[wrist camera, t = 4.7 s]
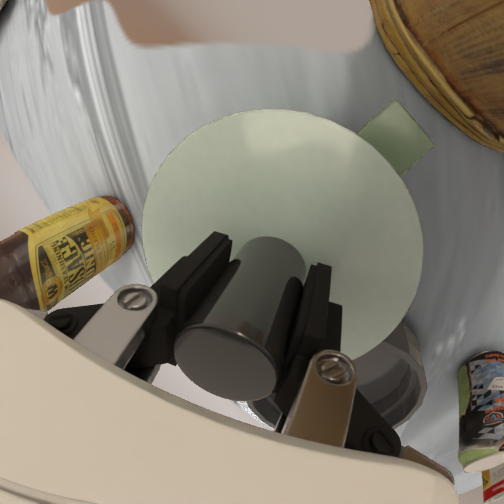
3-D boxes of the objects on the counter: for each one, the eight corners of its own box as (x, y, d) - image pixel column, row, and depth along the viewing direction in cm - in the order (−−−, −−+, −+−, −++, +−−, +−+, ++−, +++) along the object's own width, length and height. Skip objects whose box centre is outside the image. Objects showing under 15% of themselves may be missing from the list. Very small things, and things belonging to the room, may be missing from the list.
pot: (437, 187, 16) (494, 233, 9) (274, 318, 25) (246, 395, 17) (318, 60, 15) (304, 15, 8) (173, 226, 23) (108, 277, 16)
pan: (443, 368, 22) (451, 402, 18) (324, 424, 30) (319, 454, 26) (353, 261, 20) (355, 295, 16) (225, 353, 28) (208, 385, 24)
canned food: (484, 451, 27) (489, 504, 17) (473, 443, 26) (478, 503, 16) (519, 430, 23) (529, 483, 13) (513, 419, 22) (525, 480, 12)
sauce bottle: (136, 262, 26) (-17, 405, 9) (91, 239, 27) (-55, 349, 10) (142, 199, 23) (-65, 338, 6) (93, 181, 24) (-89, 280, 7)
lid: (463, 267, 10) (522, 375, 5) (278, 383, 17) (248, 477, 11) (263, 49, 9) (177, -18, 3) (121, 246, 15) (36, 310, 10)
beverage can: (509, 354, 19) (540, 443, 9) (461, 393, 23) (475, 482, 12) (488, 331, 19) (526, 434, 9) (435, 376, 23) (448, 478, 12)
